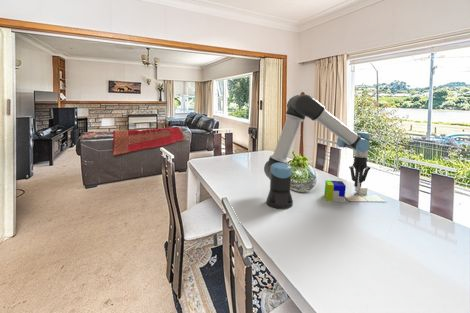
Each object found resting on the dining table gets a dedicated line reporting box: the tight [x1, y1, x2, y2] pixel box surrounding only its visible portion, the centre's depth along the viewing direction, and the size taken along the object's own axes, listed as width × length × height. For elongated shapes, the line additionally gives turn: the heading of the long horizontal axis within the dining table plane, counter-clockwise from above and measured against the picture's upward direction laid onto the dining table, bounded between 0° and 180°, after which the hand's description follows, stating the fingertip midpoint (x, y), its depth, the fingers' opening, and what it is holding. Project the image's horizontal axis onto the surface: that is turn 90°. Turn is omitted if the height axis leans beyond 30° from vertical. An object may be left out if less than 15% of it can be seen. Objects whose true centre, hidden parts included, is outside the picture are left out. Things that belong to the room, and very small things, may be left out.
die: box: [356, 185, 368, 195], centre depth 166 cm, size 5×5×5 cm
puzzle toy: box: [324, 179, 347, 203], centre depth 157 cm, size 10×10×10 cm
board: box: [345, 194, 387, 203], centre depth 157 cm, size 22×11×1 cm, turn 89°
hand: (357, 191), depth 166 cm, fingers closed
